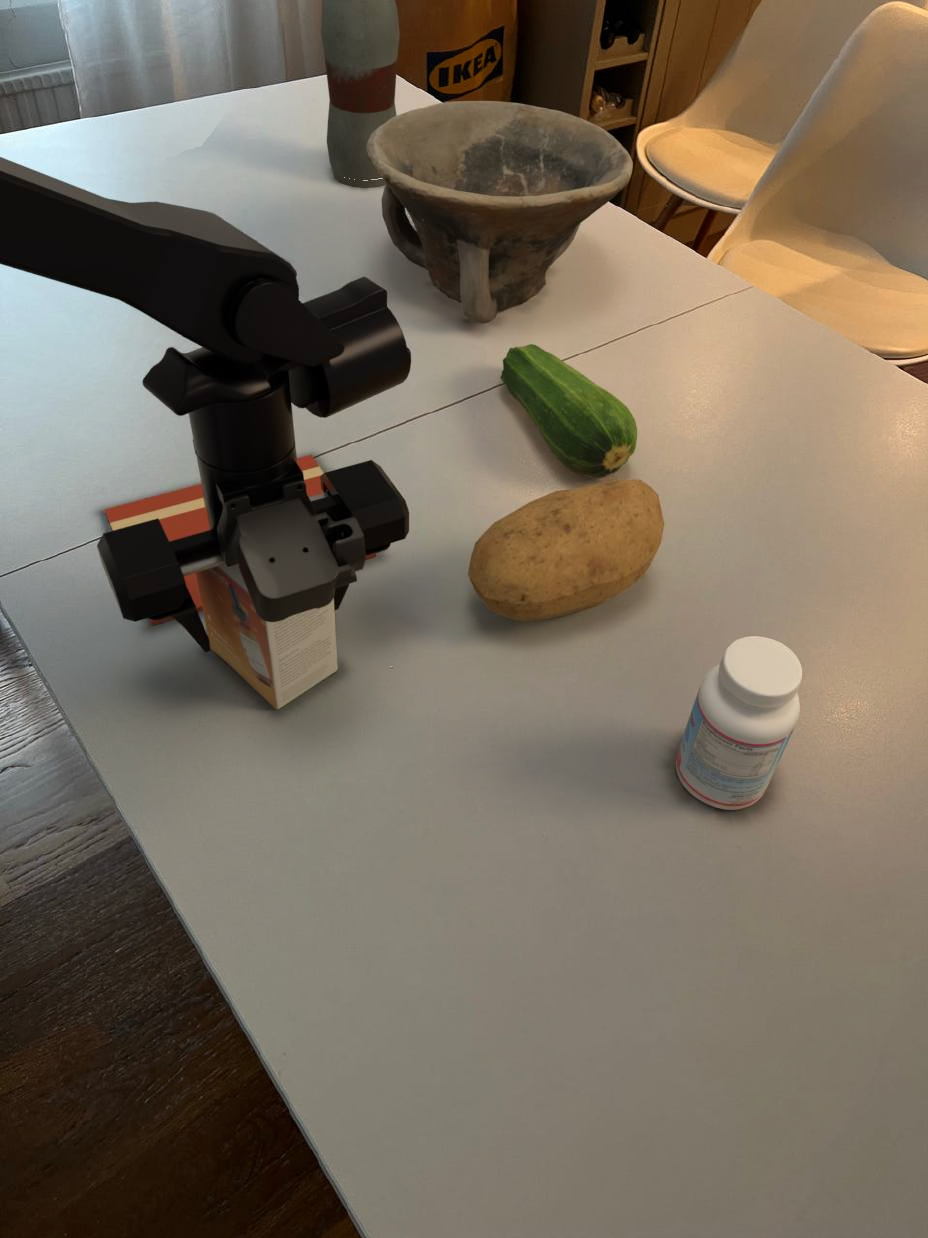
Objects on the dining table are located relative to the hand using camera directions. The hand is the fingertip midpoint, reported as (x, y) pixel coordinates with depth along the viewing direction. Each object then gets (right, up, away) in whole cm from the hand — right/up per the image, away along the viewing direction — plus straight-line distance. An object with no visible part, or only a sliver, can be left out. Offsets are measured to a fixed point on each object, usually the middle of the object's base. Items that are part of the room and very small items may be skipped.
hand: (270, 626), depth 69 cm
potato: (+21, +2, +8) cm, 23 cm away
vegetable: (+22, +18, +24) cm, 37 cm away
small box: (0, -3, +3) cm, 4 cm away
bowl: (+16, +38, +43) cm, 59 cm away
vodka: (0, +58, +60) cm, 84 cm away
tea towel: (-5, +7, +12) cm, 15 cm away
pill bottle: (+30, -10, -3) cm, 32 cm away
